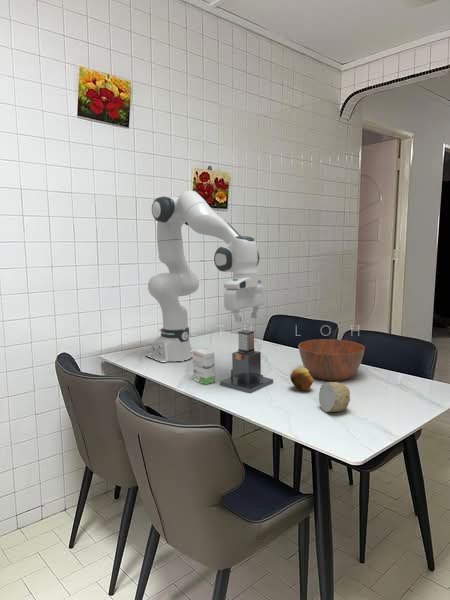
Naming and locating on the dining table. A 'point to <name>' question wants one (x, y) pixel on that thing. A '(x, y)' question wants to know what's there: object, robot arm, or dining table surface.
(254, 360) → the stand
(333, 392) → the yellow rounded chunk
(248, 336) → the column
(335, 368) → the bowl
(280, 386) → the dining table surface
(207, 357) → the ink box
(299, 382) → the fruit
